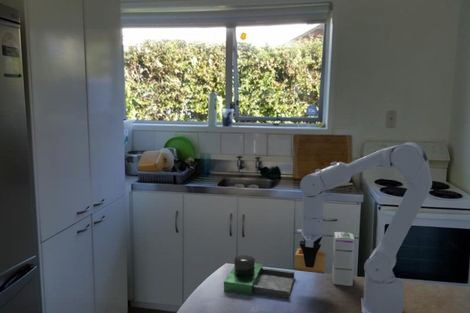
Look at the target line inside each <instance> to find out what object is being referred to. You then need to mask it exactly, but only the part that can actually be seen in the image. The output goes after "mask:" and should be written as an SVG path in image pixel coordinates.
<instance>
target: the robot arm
mask: <svg viewBox="0 0 470 313" xmlns="http://www.w3.org/2000/svg"><path fill="white" fill-rule="evenodd" d="M379 166H383V167H387V168H391V167H393V166H394V168H395V169H396V170H397V171H398V172H400V174H402V175H403V178H404V179H405V182H406V184H407V189H406V191H405V193H404V194H403V197H402V199H401V200H400V203H399V205H398V207H397V209H396V211H395V212H394V214H393V216H392V219H391V221H390V222H389V225H388V227H387V229H386V231H385V232H384V234H383V237H382V239H381V240H380V242H379V245H378V246H377V247H375V248H374V249H372V252H371V254H370V255H369V258H367V260H365V263H364V264H363V269H364V284H363V285H364V286H363V297H361V298H360V306H361V313H403V308H404V296H405V287H404V280H403V279H402V278H399V277H398V278H397V277H396V276H395V274H394V271H393V269H394V267H395V266H396V264H397V254H398V251H399V250H400V247H401V246H402V244H403V241H404V240H405V238H406V236H407V235H408V233H409V231H410V230H411V229H410V228H411V227H412V225H413V223H414V221H415V219H416V217H417V215H418V213H419V212H420V209H421V208H422V206H423V204H424V203H425V200H426V198H427V196H428V194H429V193H430V191H431V189H432V186H433V179H432V174H431V169H430V163H429V157H428V155H427V152H426V151H425V149H424V148H423V147H422V145H421V144H419V143H418V142H416V141H406V142H404V143H402V144H400V145H399V144H397V145H392V146H388V147H384V148H382V149H379V150H377V151H374V152H372V153H370V154H368V155H366V156H364V157H360V158H359V159H356V160H354V161H352V162H350V163H346V162H343V161H339V162H338V161H333V162H330V165H329V166H327V167H324V168H322V169H320V168H317V169H315V170H314V172H312V173H310V174H307V175H305V176H303V177H302V179H301V180H300V182H299V188H300V191H301V192H302V203H301V204H302V206H301V208H302V209H301V228H298V229H297V230H296V233H297V234H299V235H301V236H302V238H303V240H300V241H299V248H300V249H302V251H303V255H304V261H305V266H306V267H310V268H313V267H314V264H315V259H316V255H317V252H318V251H320V249H321V247H322V243H321V241H322V239H323V235H324V232H323V224H324V223H323V222H324V221H323V220H324V194H325V191H329V190H331V189H334V188H336V187H340V186H342V185H344V184H346V183H347V184H348V183H349V182H350V181H351V179H352V176H353V175H356V174H360V173H361V172H364V171H367V170H370V169H372V168H375V167H379ZM320 243H321V244H320Z"/></svg>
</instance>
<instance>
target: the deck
mask: <svg viewBox="0 0 470 313" xmlns="http://www.w3.org/2000/svg"><path fill="white" fill-rule="evenodd" d="M233 262H234V266H233V267H232V268H231V271H229V274H228V275H227V277H226V278H225V279H224V281H223V292H226V293H231V294H232V293H233V294H237V295H242V296H243V295H245V296H250V297H251V296H252V295H253V294H255V295H256V294H257V295H261V296H269V297H275V298H283V299H287V300H289V298H290V296H291V295H290V294H291V291H292V289H293V288H292V287H293V284H294V281H295V271H290V270H282V269H273V268H265V267H264V266H263V263H258V262H257V263H256V258H254V257H253V256H251V255H238V256H236V257H234V261H233Z"/></svg>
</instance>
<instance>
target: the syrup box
mask: <svg viewBox="0 0 470 313" xmlns="http://www.w3.org/2000/svg"><path fill="white" fill-rule="evenodd" d="M332 248H333V251H332V254H333V255H332V276H331V277H332V283H333V285H339V286H346V287H347V286H348V287H353V284H354V283H353V279H354V267H355V266H354V263H355V237H354V233H352V232H347V231H334V232H333V247H332Z"/></svg>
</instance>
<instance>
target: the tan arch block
mask: <svg viewBox="0 0 470 313" xmlns="http://www.w3.org/2000/svg"><path fill="white" fill-rule="evenodd" d="M325 268H326V251H324V250H318V252H317V255H316V259H315V264H314V267H313V268H310V267H306V266H305V261H304V255H303V251H302V249H301V247H299V248H298V247H297V248H296V251H295V254H294V271H301V272H308V273H316V274H317V273H318V274H325Z"/></svg>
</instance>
